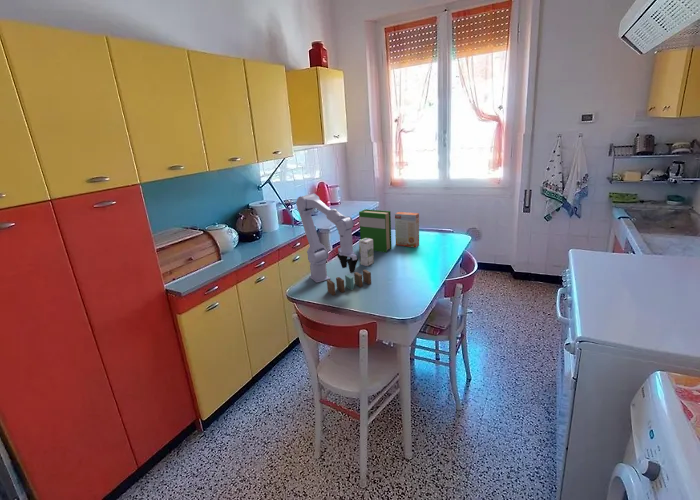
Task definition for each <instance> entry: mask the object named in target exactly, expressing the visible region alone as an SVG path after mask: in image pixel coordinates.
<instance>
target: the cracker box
mask: <svg viewBox="0 0 700 500" xmlns="http://www.w3.org/2000/svg"><path fill="white" fill-rule="evenodd" d="M394 229H395V230H394V231H395V233H394V234H395V235H394V236H395V246H401V247H408V248H417V247H419V246H420V213H418V212H408V211H407V212H404V211H398V212H395V213H394Z"/></svg>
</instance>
